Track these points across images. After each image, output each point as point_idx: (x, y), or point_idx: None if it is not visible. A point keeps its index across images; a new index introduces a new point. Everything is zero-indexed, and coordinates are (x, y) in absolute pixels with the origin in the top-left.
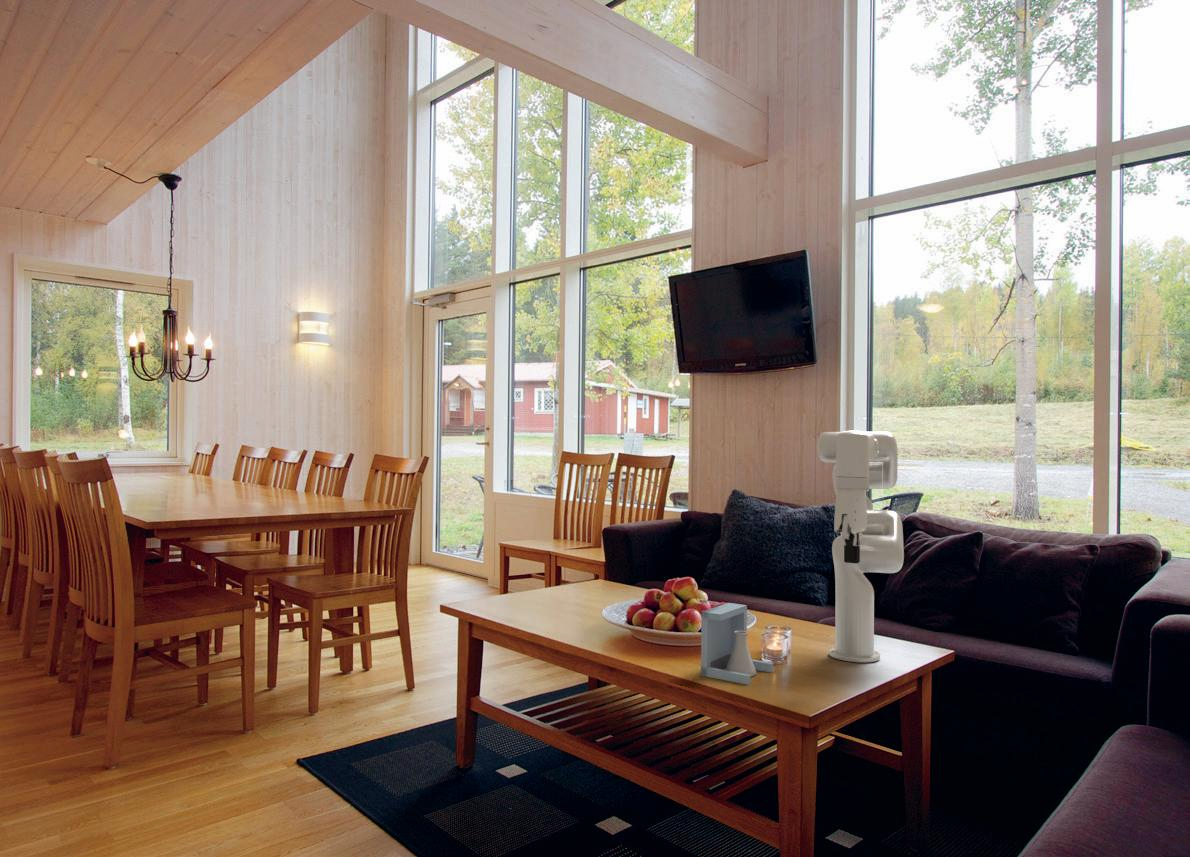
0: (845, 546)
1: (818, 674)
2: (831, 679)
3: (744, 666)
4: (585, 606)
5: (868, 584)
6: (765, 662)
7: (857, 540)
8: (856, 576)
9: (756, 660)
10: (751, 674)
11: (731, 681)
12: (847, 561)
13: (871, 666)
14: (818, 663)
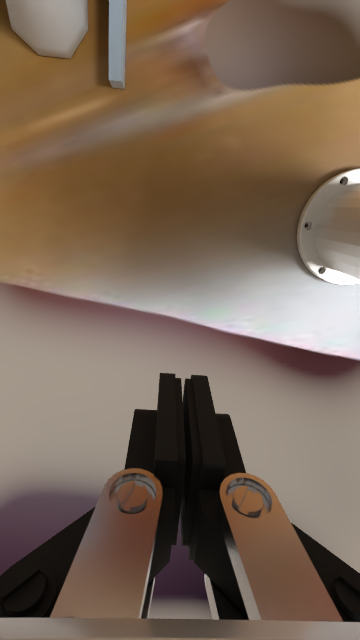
0: (156, 462)
1: (163, 198)
2: (141, 233)
3: (16, 19)
4: None
5: None
6: (114, 57)
7: (214, 606)
8: None
9: (119, 22)
10: (37, 51)
11: None
12: (158, 394)
13: (284, 279)
14: (256, 170)
